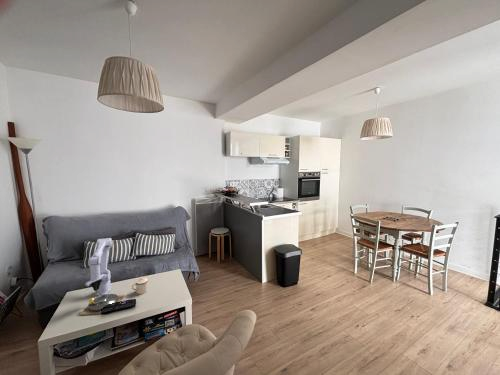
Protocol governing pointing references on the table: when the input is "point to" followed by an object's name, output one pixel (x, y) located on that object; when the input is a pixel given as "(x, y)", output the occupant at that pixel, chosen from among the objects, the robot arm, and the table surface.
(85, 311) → the base plate
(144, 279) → the teacup with lid
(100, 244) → the robot arm
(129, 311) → the table surface
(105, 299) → the handwheel
